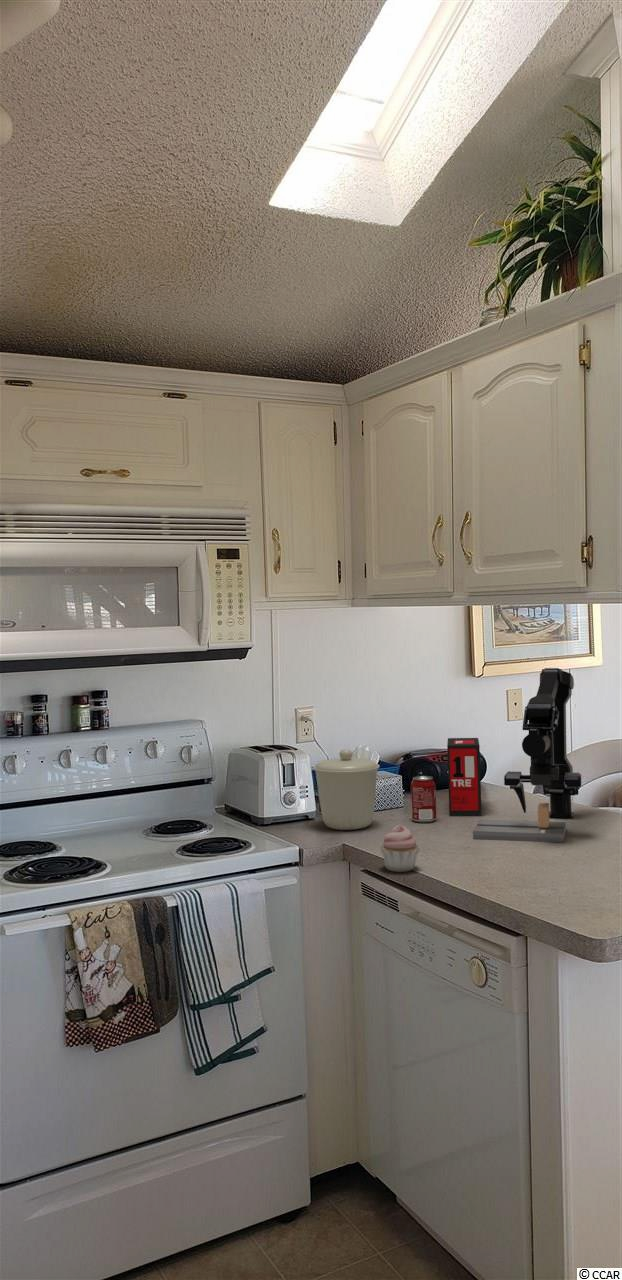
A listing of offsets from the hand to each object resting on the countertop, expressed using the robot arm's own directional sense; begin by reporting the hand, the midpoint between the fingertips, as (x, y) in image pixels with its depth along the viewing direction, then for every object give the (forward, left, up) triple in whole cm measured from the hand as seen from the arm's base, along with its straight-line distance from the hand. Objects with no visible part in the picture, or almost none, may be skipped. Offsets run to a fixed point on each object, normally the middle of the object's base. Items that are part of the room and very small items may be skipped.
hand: (543, 813), depth 236 cm
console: (0, -6, -6) cm, 8 cm away
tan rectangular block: (0, 0, -4) cm, 4 cm away
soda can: (-12, -33, -6) cm, 36 cm away
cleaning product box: (-28, -24, -6) cm, 37 cm away
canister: (-2, -52, -6) cm, 52 cm away
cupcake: (+38, -29, -6) cm, 48 cm away
